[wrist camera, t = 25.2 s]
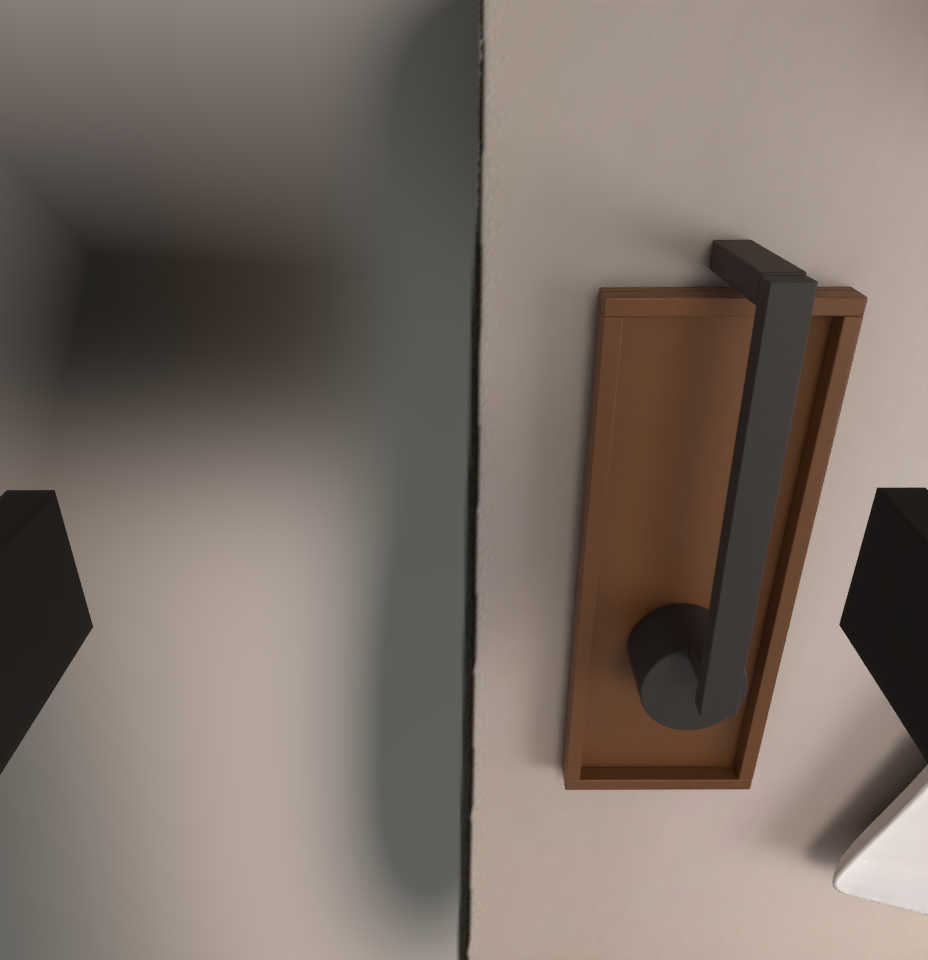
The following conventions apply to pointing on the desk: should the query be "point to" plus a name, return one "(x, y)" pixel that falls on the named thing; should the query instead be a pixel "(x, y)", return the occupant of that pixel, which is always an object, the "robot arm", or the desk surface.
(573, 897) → the desk surface
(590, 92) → the desk surface
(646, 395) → the spoon rest
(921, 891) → the salad plate
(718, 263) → the ladle
